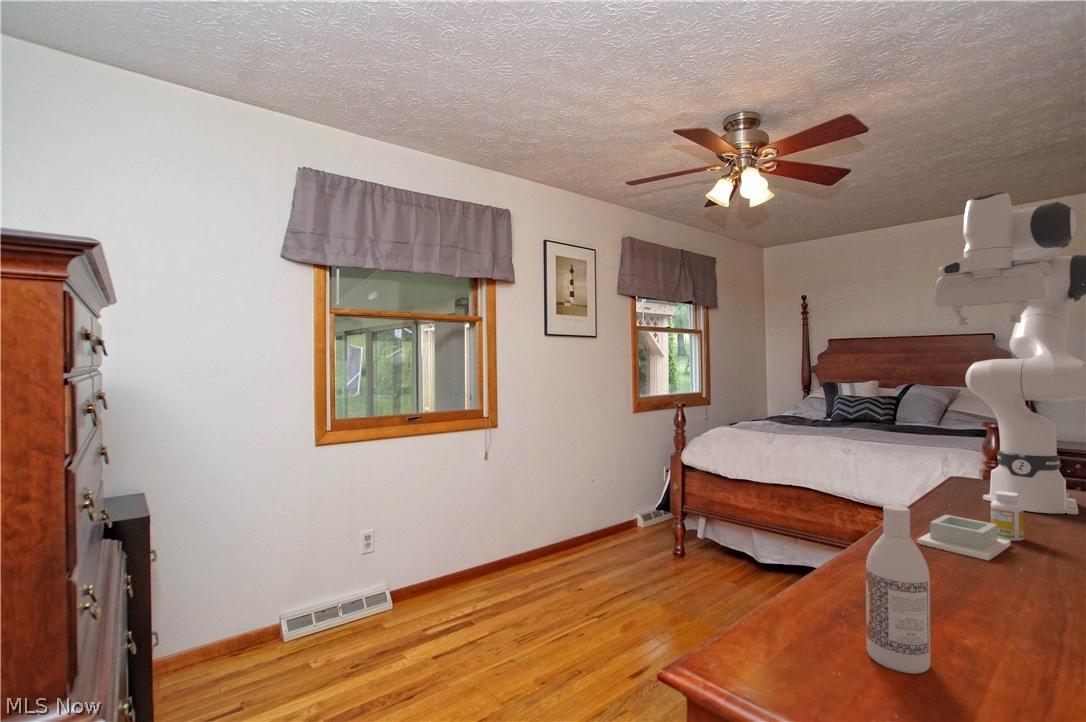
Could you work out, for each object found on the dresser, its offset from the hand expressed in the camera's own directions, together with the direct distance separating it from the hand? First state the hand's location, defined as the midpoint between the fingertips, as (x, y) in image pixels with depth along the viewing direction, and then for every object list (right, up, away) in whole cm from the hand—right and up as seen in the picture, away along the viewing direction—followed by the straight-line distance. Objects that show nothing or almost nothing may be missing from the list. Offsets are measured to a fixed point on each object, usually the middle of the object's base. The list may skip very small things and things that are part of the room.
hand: (988, 324), depth 121 cm
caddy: (-14, -47, -10) cm, 50 cm away
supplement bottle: (-1, -47, -6) cm, 48 cm away
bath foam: (-56, -48, -52) cm, 90 cm away
